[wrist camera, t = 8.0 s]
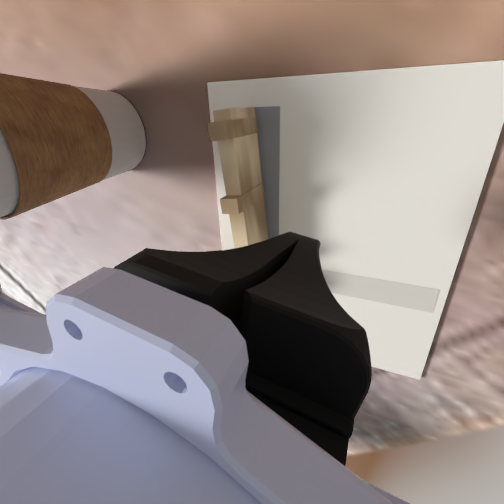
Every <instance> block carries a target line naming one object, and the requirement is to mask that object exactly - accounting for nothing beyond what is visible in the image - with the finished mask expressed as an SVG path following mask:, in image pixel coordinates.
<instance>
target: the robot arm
mask: <svg viewBox="0 0 504 504" xmlns="http://www.w3.org/2000/svg"><path fill="white" fill-rule="evenodd" d="M320 244H321V243H320V241H319V240H317V239H313V238H310V237H307V236H303V235H300V234H297V233H293V232H287V233H284V234H281V235H278V236H276V237H273V238H270V239H267V240H265V241H261V242H258V243H255V244H251V245H248V246H244V247H240V248H234V249H228V250H220V251H208V252H177V251H166V250H156V249H148V248H146V249H144V250H143V251H141V252H139V253H137V254H136V255H134V256H132V257H131V258H129V259H127V260H126V261H124V262H122V263H120V264H119V265H117V266H115V267H114V269H113V268H105V267H103V268H101V269H99V270H98V271H96V272H94V273H92V274H91V275H89V276H87V277H85V278H83V279H82V280H80V281H78V282H76V283H75V284H73V285H71V286H69V287H68V288H66V289H64V290H62V291H60V292H59V293H57V294H56V295H54V296H53V297H52V298H51V299H50V300H49V301H47V305H46V315H44V314H41V313H39V312H37V311H36V310H34V309H32V308H30V307H28V306H26V305H24V304H22V303H20V302H18V301H16V300H14V299H12V298H10V297H8V296H6V295H5V294H3V293H2V289H1V285H0V504H409V503H408V502H406V501H403V500H402V499H400V498H398V497H396V496H394V495H392V494H390V493H388V492H386V491H384V490H382V489H380V488H378V487H377V486H375V485H373V484H371V483H369V482H367V481H365V480H363V479H361V478H359V477H358V476H357V475H355V474H354V473H353V472H352V471H350V470H349V469H348V468H346V467H345V464H346V456H347V449H348V441H349V438H350V437H351V435H352V431H353V424H354V417H355V415H356V413H357V412H358V410H359V408H360V406H361V404H362V402H363V400H364V398H365V397H366V395H367V393H368V390H369V387H370V383H371V374H372V372H371V357H370V349H369V343H368V338H367V334H366V330H365V329H364V328H363V327H362V326H361V325H360V324H358V323H357V322H356V321H355V320H354V319H353V318H352V317H351V316H350V315H349V314H348V313H347V312H346V311H345V310H344V309H343V308H342V307H341V305H340V304H339V303H338V302H337V300H336V299H335V297H334V296H333V294H332V293H331V291H330V289H329V287H328V285H327V283H326V280H325V278H324V275H323V271H322V268H321V263H320V257H319V248H320Z"/></svg>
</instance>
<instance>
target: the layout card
mask: <svg viewBox="0 0 504 504" xmlns="http://www.w3.org/2000/svg"><path fill="white" fill-rule="evenodd" d="M207 87H208V98H209V110H210V121H211V122H214V116H213V111H215V110H221V109H228V108H248V107H254V108H255V117H256V120H257V130H258V133H257V137H258V146H259V156H260V165H261V175H262V182H263V187H264V203H265V212H266V222H267V231H268V238H269V239H270V238H273V237H276V236H278V235H281V234H284V233H287V232H293V233H297V234H300V235H303V236H307V237H310V238H313V239H317V240H319V241H320V243H321V244H320V248H319V257H320V263H321V268H322V271H323V275H324V278H325V280H326V283H327V285H328V287H329V289H330V291H331V293H332V294H333V296H334V297H335V299H336V300H337V302H338V303H339V304H340V305H341V307H342V308H343V309H344V310H345V311H346V312H347V313H348V314H349V315H350V316H351V317H352V318H353V319H354V320H355V321H356V322H357V323H358V324H360V325H361V326H362V327H363V328H364V329H365V330H366V334H367V338H368V343H369V349H370V357H371V366H372V367H375V368H379V369H383V370H386V371H390V372H393V373H397V374H401V375H404V376H408V377H411V378H415V379H419V380H420V378H421V375H422V372H423V369H424V366H425V363H426V360H427V357H428V354H429V350H430V347H431V344H432V341H433V338H434V335H435V332H436V329H437V326H438V323H439V320H440V317H441V314H442V311H443V307H444V304H445V301H446V298H447V295H448V292H449V289H450V286H451V283H452V280H453V277H454V274H455V271H456V267H457V264H458V261H459V258H460V255H461V252H462V249H463V246H464V243H465V240H466V237H467V234H468V231H469V228H470V224H471V221H472V218H473V215H474V212H475V209H476V206H477V203H478V200H479V197H480V194H481V191H482V188H483V184H484V181H485V178H486V175H487V172H488V169H489V166H490V163H491V160H492V157H493V154H494V151H495V148H496V145H497V141H498V138H499V135H500V132H501V129H502V126H503V123H504V60H501V61H488V62H474V63H461V64H448V65H434V66H421V67H408V68H394V69H381V70H368V71H354V72H341V73H327V74H314V75H301V76H287V77H274V78H261V79H247V80H234V81H221V82H207ZM212 144H213V155H214V166H215V178H216V189H217V200H218V212H219V223H220V234H221V246H222V250H228V249H234V242H233V235H232V229H231V223H230V216H229V214H222V210H221V204H220V199H221V198H222V197H224V196H226V191H225V185H224V179H223V173H222V166H221V160H220V154H219V147H218V141H212Z"/></svg>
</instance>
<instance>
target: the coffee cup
mask: <svg viewBox="0 0 504 504" xmlns="http://www.w3.org/2000/svg"><path fill="white" fill-rule="evenodd" d="M145 147H146V139H145V131H144V127H143V124H142V121H141V119H140V117H139V115H138V113H137V111H136V110H135V108H134V107H133V106H132V104H131V103H130V102H129V101H128V100H127V99H126V98H124V97H123V96H121V95H120V94H117V93H115V92H111V91H105V90H98V89H90V88H83V87H76V86H71V85H67V84H61V83H55V82H49V81H43V80H37V79H31V78H25V77H19V76H13V75H7V74H1V73H0V219H8V218H11V217H14V216H16V215H19V214H21V213H23V212H26V211H28V210H31V209H33V208H36V207H38V206H41V205H43V204H46V203H48V202H51V201H53V200H56V199H58V198H61V197H63V196H66V195H68V194H71V193H73V192H76V191H78V190H81V189H83V188H86V187H88V186H90V185H93V184H95V183H98V182H100V181H101V180H104V179H107V178H110V177H112V176H115V175H118V174H121V173H123V172H126V171H129V170H131V169H133V168H135V167H136V166H138V164H139V163H140V162H141V160H142V158H143V156H144V153H145Z"/></svg>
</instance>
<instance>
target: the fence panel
mask: <svg viewBox="0 0 504 504" xmlns="http://www.w3.org/2000/svg"><path fill="white" fill-rule="evenodd" d="M213 116H214V122H211V123H207V127H208V133H209V139H210V142H211V141H218V147H219V154H220V160H221V166H222V173H223V179H224V185H225V191H226V196H224V197H222V198H221V199H220V204H221V210H222V214H229V216H230V223H231V229H232V235H233V242H234V248H240V247H244V246H248V245H251V244H255V243H258V242H261V241H265V240H267V239H269V238H268V231H267V222H266V212H265V203H264V187H263V182H262V175H261V165H260V156H259V146H258V137H257V133H258V130H257V120H256V117H255V108H254V107H248V108H228V109H221V110H215V111H213Z"/></svg>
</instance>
